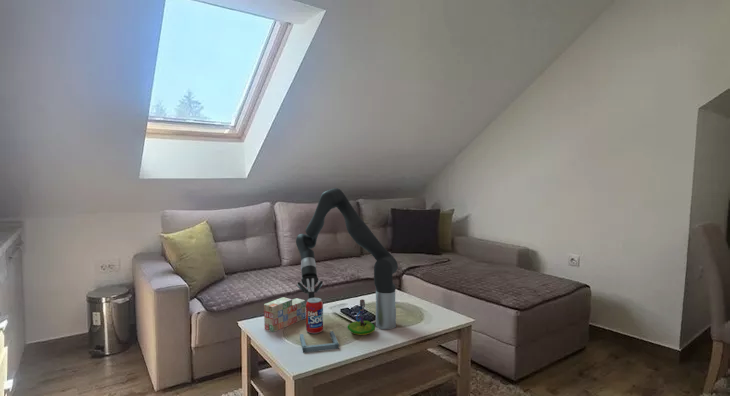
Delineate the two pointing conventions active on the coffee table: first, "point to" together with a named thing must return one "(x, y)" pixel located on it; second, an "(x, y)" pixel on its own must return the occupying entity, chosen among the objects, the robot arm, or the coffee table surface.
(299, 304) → the stack of blocks
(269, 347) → the coffee table surface
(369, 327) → the pirate figurine
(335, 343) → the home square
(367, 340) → the coffee table surface
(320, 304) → the soda can
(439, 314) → the coffee table surface
